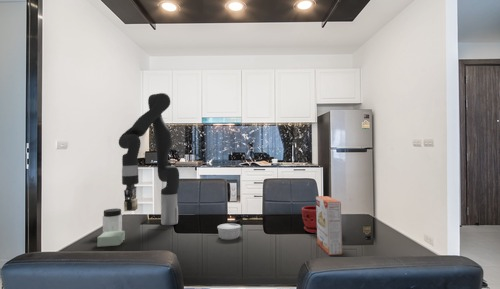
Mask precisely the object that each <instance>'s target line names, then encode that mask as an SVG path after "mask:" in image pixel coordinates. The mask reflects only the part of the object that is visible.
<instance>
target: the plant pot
mask: <svg viewBox="0 0 500 289" xmlns="http://www.w3.org/2000/svg"><path fill="white" fill-rule="evenodd" d="M301 216H302V222H303V224H304V226H303V229H304V230H305V231H306V232H308V233H311V234H312V233H313V234H317V214H316V205H308V206H307V205H306V206H303V207H301Z"/></svg>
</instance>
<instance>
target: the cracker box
mask: <svg viewBox="0 0 500 289" xmlns="http://www.w3.org/2000/svg"><path fill="white" fill-rule="evenodd" d="M315 206H316V214H317V233H316V242H317V245H318V246H320V248H321V249H322V250H323V251H324V252H325V253H326V254H327V255H328V256H335V255H336V256H338V255H343V234H342V233H343V232H342V230H343V229H342V228H343V227H342V204H341V201H340V200H337V199H335V198H334V197H331V196H329V195H328V196H327V195H325V196H324V195H323V196H321V195H319V196H318V195H317V196H315Z"/></svg>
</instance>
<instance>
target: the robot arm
mask: <svg viewBox="0 0 500 289" xmlns="http://www.w3.org/2000/svg"><path fill="white" fill-rule="evenodd" d="M147 104H148V109H149V110H147V111H146V112H145V113H143V114H142V115H141V116H139V118H137V119H136V121H135V122H134V123H133V124H132V126H130V128H128V129H127V130H126V131H125V132H124V133H122V134H121V135H120V136H119V139H118V145H119V147H120V148H122V149H124V150H125V149H126V150H127V152H126V153H124V154H122V159H121V161H122V163H121V164H122V167H121V168H122V169H121V184H122V186H126V188H125V189H124V190H123V192H124V194H123V195H124V201H125V202H126V203H127V210H132V199H137V186H135V185H138V184H139V165H138V162H139V161H138V158H139V154H140V148H141V137H143V136H144V135H145V134H146V132H147V131H148V130H149V129H150V127H151V126H152V127H153V134H154V135H153V137H154V143H155V149H156V151H155V153H156V159H157V161H156V162H157V165H156V166H157V176H158V179H159V180H160V182H163V183H164V182H165V183H166V184H165V187H163V188H161V190H160V224H161V225H162V226H174V225H177V224H178V222H179V206H178V191H179V185H180V172H179V168H178V167H176V166H172V165H171V166H169V154H170V151H171V148H172V145H173V144H172V143H173V142H172V141H173V140H172V135H171V134H172V133H171V131H170V128H169V127H168V125H167V124H166V122H165V121H164V118H163V115H162V113H164V112H165V111H166V110H167V109H168V108H169V107H170V105H171V97H170V95H168V94H167V93H165V92H164V93H163V92H161V93H160V92H159V93H155V94H154V93H153V94H151V95H149V96H148V99H147Z"/></svg>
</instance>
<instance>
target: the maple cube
mask: <svg viewBox="0 0 500 289" xmlns="http://www.w3.org/2000/svg"><path fill="white" fill-rule="evenodd" d="M137 209H138V198H135V199H132V210H127V203H126V202H125V200H124V202H123V210H124V212H133V211H136V210H137Z"/></svg>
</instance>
